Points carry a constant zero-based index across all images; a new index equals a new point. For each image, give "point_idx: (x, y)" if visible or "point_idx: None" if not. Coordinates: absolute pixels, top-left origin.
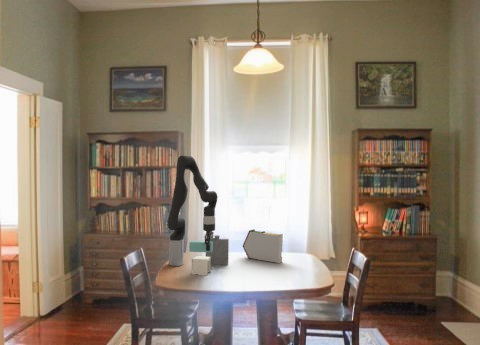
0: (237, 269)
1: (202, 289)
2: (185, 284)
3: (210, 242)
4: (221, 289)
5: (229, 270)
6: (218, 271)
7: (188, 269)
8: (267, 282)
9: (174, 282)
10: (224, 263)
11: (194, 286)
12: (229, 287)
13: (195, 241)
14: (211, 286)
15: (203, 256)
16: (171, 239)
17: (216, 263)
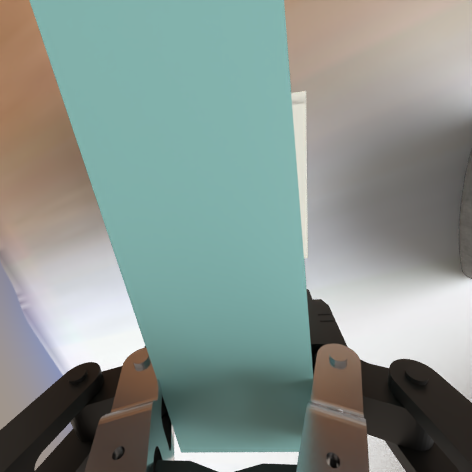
0: (363, 342)
1: (19, 272)
2: (29, 172)
3: (188, 439)
4: (60, 337)
5: (336, 311)
6: (304, 262)
7: (309, 42)
8: (204, 453)
9: (20, 91)
10: (468, 263)
11: (30, 226)
12: (95, 357)
13: (179, 73)
14: (70, 295)
15: (304, 190)
16: None
17: (469, 211)
